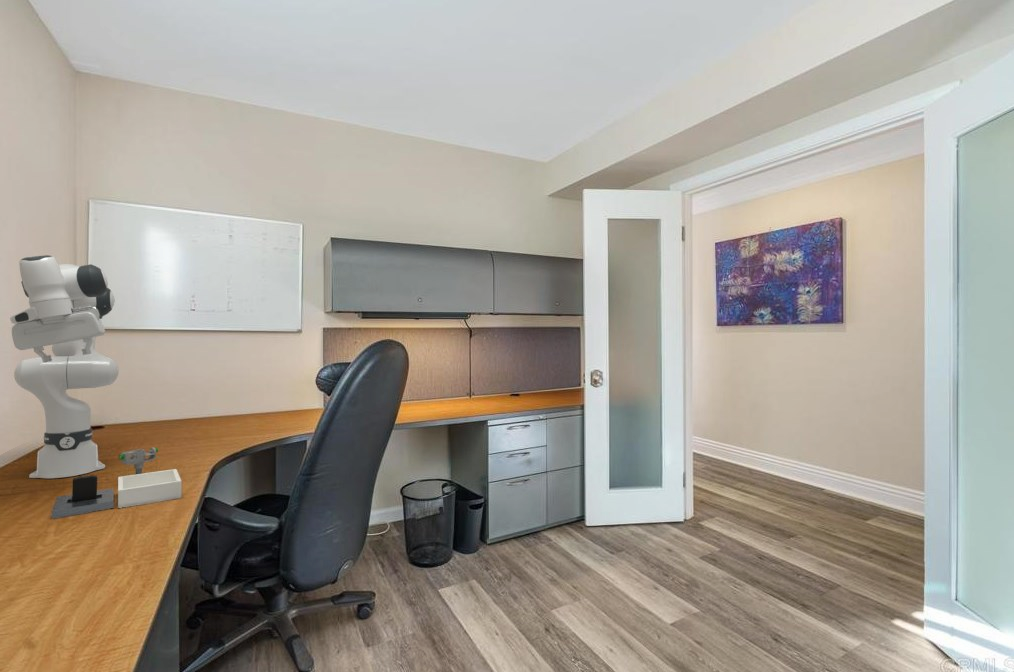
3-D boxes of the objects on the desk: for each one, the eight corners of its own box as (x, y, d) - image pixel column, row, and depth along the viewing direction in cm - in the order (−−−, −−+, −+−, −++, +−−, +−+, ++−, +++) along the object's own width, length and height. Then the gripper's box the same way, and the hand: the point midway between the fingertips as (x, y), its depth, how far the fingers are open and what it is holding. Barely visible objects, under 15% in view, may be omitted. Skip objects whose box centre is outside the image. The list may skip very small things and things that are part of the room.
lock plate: (57, 503, 132) (57, 496, 132) (113, 494, 140) (113, 488, 140) (51, 519, 121) (51, 511, 121) (113, 508, 129) (113, 501, 129)
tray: (118, 493, 141) (118, 476, 141) (176, 484, 150) (176, 468, 150) (118, 508, 129) (118, 490, 129) (181, 497, 137) (181, 481, 137)
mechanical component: (159, 478, 156) (159, 447, 156) (122, 487, 147) (122, 454, 147) (153, 477, 157) (153, 446, 157) (117, 486, 148) (117, 453, 148)
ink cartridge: (96, 503, 133) (97, 474, 133) (96, 505, 131) (97, 476, 131) (72, 507, 130) (73, 477, 130) (71, 509, 128) (72, 479, 128)
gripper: (101, 304, 146) (114, 349, 148) (16, 318, 139) (31, 365, 141) (91, 304, 140) (105, 350, 142) (2, 318, 133) (18, 367, 135)
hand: (67, 358), depth 141 cm, fingers open, 8 cm apart
